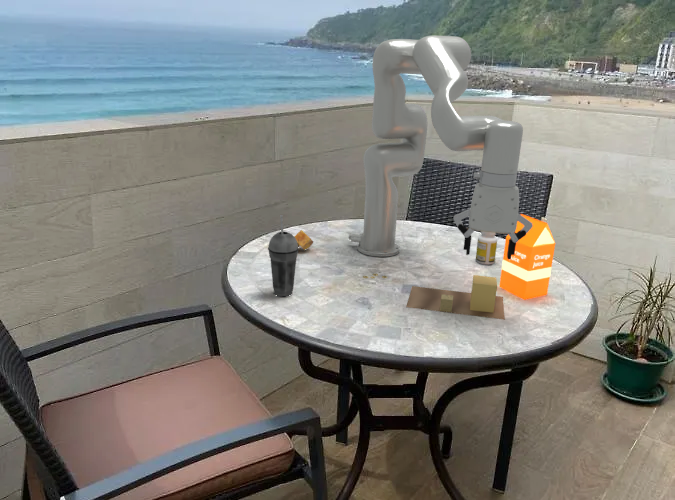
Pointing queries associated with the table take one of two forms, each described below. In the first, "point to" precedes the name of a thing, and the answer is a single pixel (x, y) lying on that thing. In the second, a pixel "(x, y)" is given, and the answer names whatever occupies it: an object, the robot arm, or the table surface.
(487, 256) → the supplement bottle
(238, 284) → the table surface
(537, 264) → the orange juice
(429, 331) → the table surface
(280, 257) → the beverage cup
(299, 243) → the pyrite
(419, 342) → the table surface
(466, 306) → the board
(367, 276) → the set of tan pieces
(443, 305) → the wooden stub
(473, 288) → the tan rectangular block
